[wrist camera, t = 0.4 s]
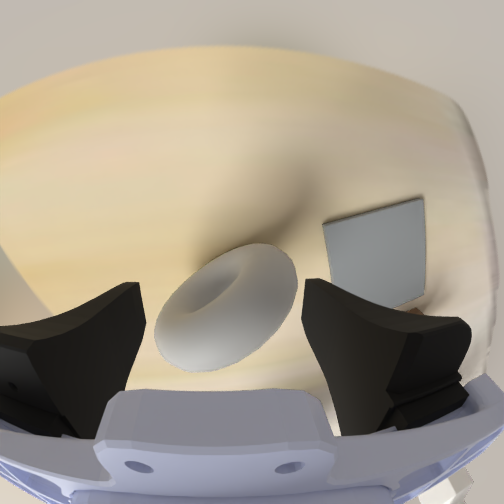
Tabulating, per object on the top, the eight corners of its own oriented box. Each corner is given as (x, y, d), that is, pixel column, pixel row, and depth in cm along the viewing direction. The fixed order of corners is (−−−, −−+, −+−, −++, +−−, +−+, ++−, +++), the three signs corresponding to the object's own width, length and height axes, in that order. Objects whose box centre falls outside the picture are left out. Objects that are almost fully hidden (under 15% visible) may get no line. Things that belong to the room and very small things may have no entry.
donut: (264, 218, 20) (300, 271, 11) (287, 254, 21) (333, 326, 12) (160, 286, 21) (125, 371, 12) (186, 317, 22) (169, 408, 13)
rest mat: (420, 292, 24) (423, 294, 24) (337, 325, 24) (339, 328, 24) (419, 198, 21) (423, 199, 20) (322, 224, 21) (324, 226, 20)
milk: (405, 408, 32) (465, 508, 11) (426, 406, 33) (482, 493, 13) (383, 431, 34) (431, 528, 13) (405, 428, 35) (452, 514, 14)
